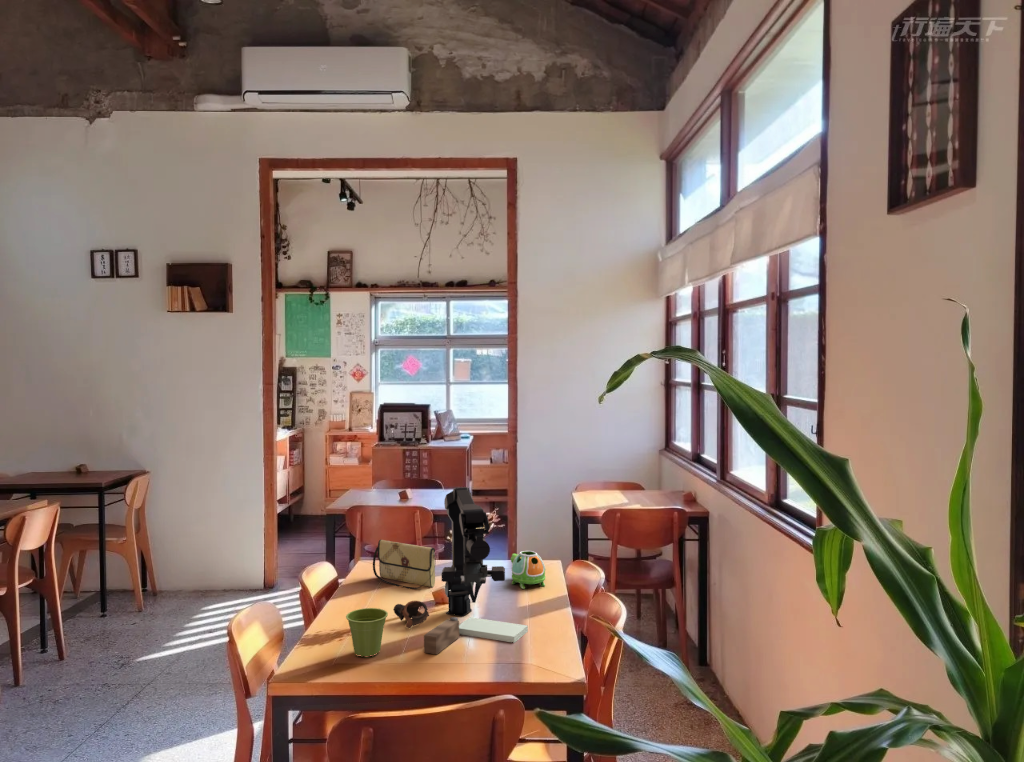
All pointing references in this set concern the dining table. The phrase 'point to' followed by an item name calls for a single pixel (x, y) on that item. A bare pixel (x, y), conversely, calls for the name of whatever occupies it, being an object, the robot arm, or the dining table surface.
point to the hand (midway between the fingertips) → (473, 602)
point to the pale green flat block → (492, 629)
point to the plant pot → (367, 630)
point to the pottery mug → (411, 613)
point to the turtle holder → (527, 568)
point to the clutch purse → (405, 563)
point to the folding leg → (441, 636)
